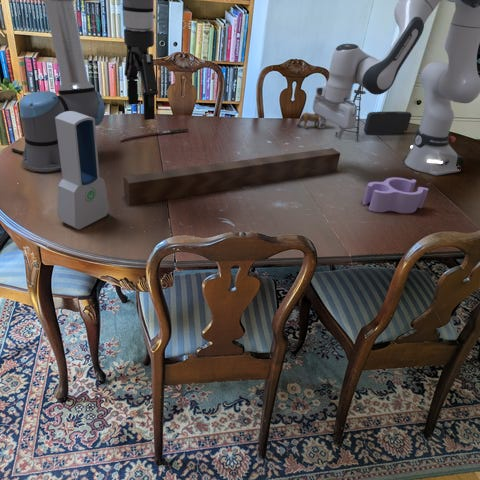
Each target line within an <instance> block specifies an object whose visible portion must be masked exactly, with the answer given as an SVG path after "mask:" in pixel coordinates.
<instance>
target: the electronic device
mask: <svg viewBox="0 0 480 480" xmlns="http://www.w3.org/2000/svg"><path fill="white" fill-rule="evenodd" d="M55 122H56V130H57V138H58V146H59V154H60V162H61V170H60V171H61V177H62V178H61V180H60V181H59V183H58V185H57V200H56V202H57V203H56V215H57V217H58V219H59V221H61V222H62V223H64V224H66V225H67V226H70V227H72V228H74V229H77V230H79V231H80V230H82V229H83V228H85V227H87V226H88V225H89V226H90V225H91V224H93V223H95V222H97V221H99V220H100V219H103V218H104V217H106V216H107V215H108V214H109V211H110V208H109V207H110V206H109V202H108V195H107V190H106V183H105V179H104V178H102V177H100V168H99V167H100V166H99V156H98V155H99V154H98V142H97V131H96V129H97V128H96V126H95V118H92V117H89V116H86V115H84V114H81V113H78V112H74V111H66V112H63V113H61V114H59V115H58V116H57V117H55Z"/></svg>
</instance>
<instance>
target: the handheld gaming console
mask: <svg viewBox="0 0 480 480" xmlns="http://www.w3.org/2000/svg"><path fill="white" fill-rule="evenodd" d="M412 116H413V115H412V112H410V111H401V110H399V111H398V110H397V111H394V110H393V111H370V112H368V113H367V115H366V119H365V123H364V127H363V132H364V133H365V134H366V135H392V134H394V135H395V134H405V133H406V132H407V131H408V129H409V126H410V121H411V119H412ZM404 131H406V132H404Z"/></svg>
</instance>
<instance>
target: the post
mask: <svg viewBox="0 0 480 480" xmlns="http://www.w3.org/2000/svg"><path fill="white" fill-rule="evenodd" d="M340 157H341V152H340V151H338V150H336V149H334V148H333V147H330V148H329V147H328V148H322V149H315V150H307V151H301V152H300V151H299V152H293V153H285V154H279V155H277V154H276V155H271V156H264V157H263V156H262V157H255V158H249V159H241V160H235V161H233V160H232V161H226V162H220V163H219V162H218V163H211V164H204V165H196V166H189V167H182V168H174V169H168V170H159V171H152V172H144V173H136V174H130V175H124V176H123V190H124V191H123V193H124V199H125V201H126V202H127V204H128V206H134V205H140V204H147V203H152V202H153V203H154V202H160V201H166V200H171V199H177V198H183V197H189V196H195V195H202V194H208V193H213V192H214V193H215V192H220V191H225V190H232V189H238V188H244V187H245V188H246V187H250V186H256V185H263V184H267V183H274V182H282V181H287V180H293V179H298V178H304V177H311V176H316V175H323V174H329V173H336V172H337V170H338V167H339V161H340Z"/></svg>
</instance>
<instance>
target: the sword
mask: <svg viewBox="0 0 480 480" xmlns="http://www.w3.org/2000/svg"><path fill="white" fill-rule="evenodd" d="M183 131H189V129H188V128H178V129H168V130H163V131H159V132H151V133H145V134H138V135H134V136H130V137H125V138H123V139H121V140H120V142H126V141H129V140H134V139H139V138H144V137H151V136H156V135H163V134H173V133H177V132H183Z"/></svg>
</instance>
